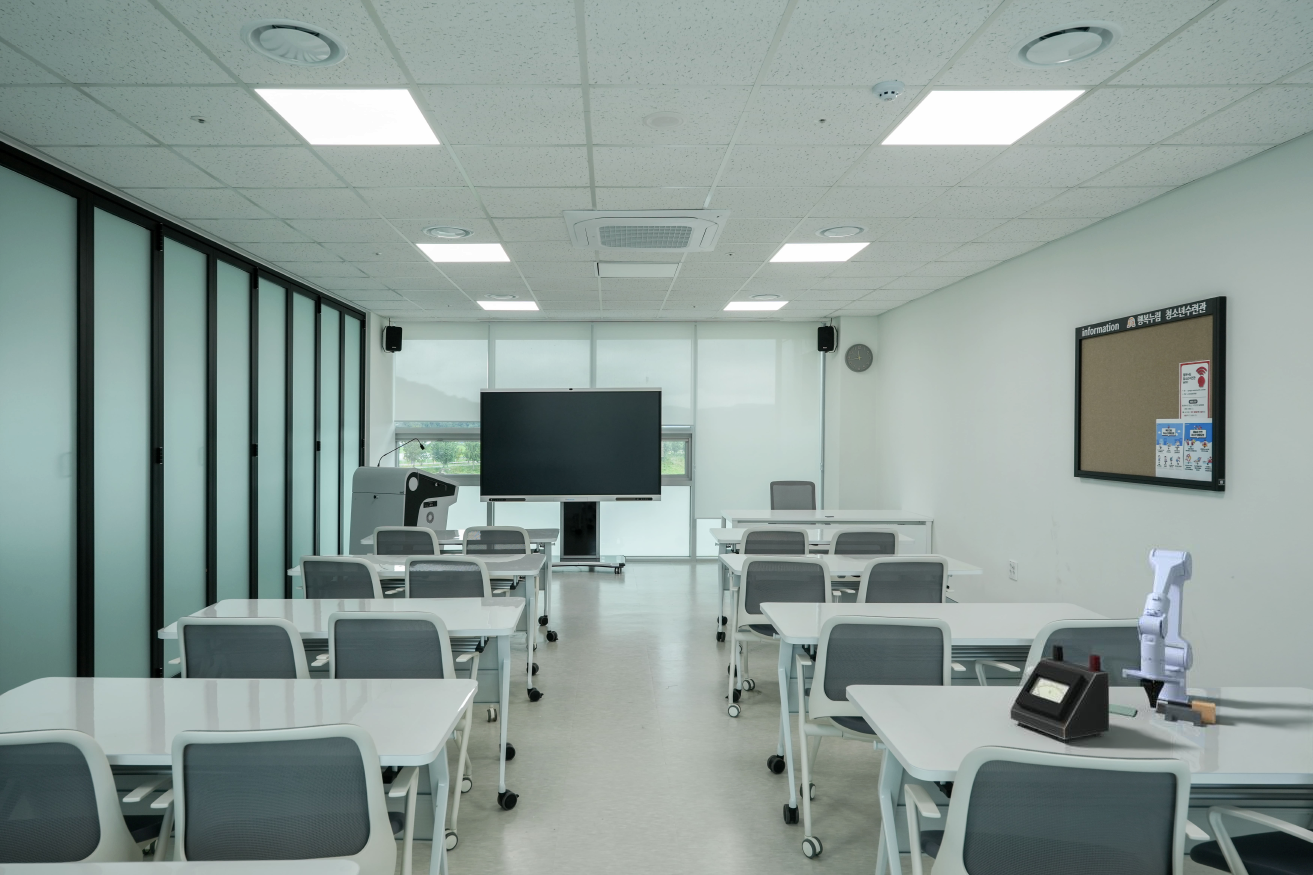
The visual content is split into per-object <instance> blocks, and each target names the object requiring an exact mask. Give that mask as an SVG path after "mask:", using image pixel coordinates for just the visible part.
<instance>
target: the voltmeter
mask: <svg viewBox="0 0 1313 875" xmlns="http://www.w3.org/2000/svg"><path fill="white" fill-rule="evenodd" d="M1063 651H1064V647H1063V646H1062V645H1060V644H1058V645H1057V644H1053V646H1052V657H1044V658H1040V659H1039V661H1038V662H1037V664H1036V665H1035V669H1034V670H1033V672H1032V674H1031V675H1030V677H1028V678H1027V680H1026V681H1025V684H1024V685H1023V687H1022V688H1021V689H1020V691H1019V694H1018V695H1017V697H1016V699H1015V700H1014V702H1013V704H1012V706H1011V708H1010V709H1009V711H1010V714H1009V716H1010V717H1009V718H1010V719H1011V720H1013V721H1015V722H1017V724H1018V726H1019V727H1022V728H1027V727H1028V726H1029V727H1031V728H1034V729H1037V730H1039V731H1042V732H1044V733H1047V734H1050V735H1052V736H1055V737H1057V740H1058V741H1059V742H1060V743H1068V739H1073V738H1074V739H1075V738H1079V737H1085V736H1092V737H1101V734H1102V733H1108V732H1110V713H1109V704H1110V677H1109V676H1110V673H1109V671H1106V670H1102V668H1101V666H1102V664H1101V655H1099V654H1092V653H1091V654H1090V655H1089V661H1088V662H1089V666H1087V665H1084V664H1079V663H1076V662H1072V661H1069V660H1066V659H1064V652H1063Z"/></svg>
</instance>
